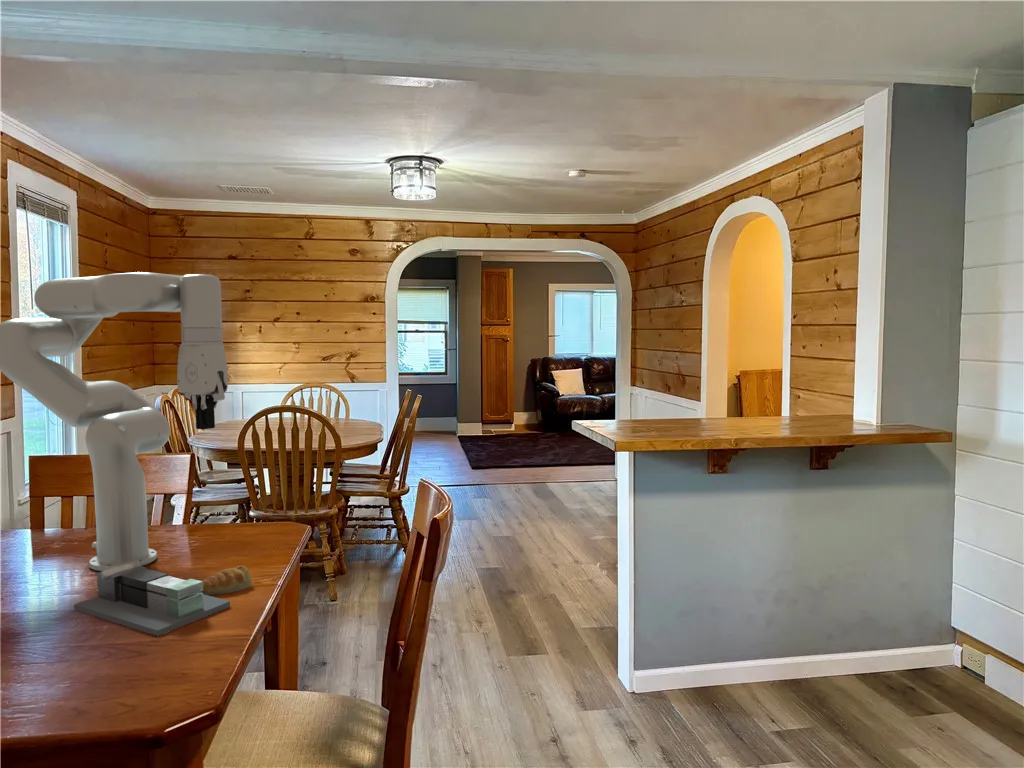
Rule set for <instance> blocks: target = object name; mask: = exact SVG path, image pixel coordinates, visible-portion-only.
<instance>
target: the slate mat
mask: <svg viewBox="0 0 1024 768" xmlns="http://www.w3.org/2000/svg"><path fill="white" fill-rule="evenodd" d="M203 602H204V609H203V610H200V611H198V612H195V613H193V614H190V615H188V616H185V617H183V618H180V619H177V618H174V617H170V616H167V614H165V613H162V612H158V611H155V610H152V609H148V608H142V607H139V606H136V605H132V604H129V603H125V602H122V601H121V600H120V601H118V602H113V601H109V600H106V599H103V598H99V597H98V596H95V597H92V598H89V599H85V600H83V601H80V602H77V603H74V606H73V608H74V611H76V612H77V611H78V612H81V613H84V614H86V613H87V614H86V615H89V614H90V616H92V615H94V616H93V617H95V616H97V617H96V618H98V617H100V618H99V619H102V618H103V619H102V620H105V619H106V620H105V621H108V620H109V621H108V622H111V621H113V622H112V623H114V622H115V624H117V623H119V624H118V625H120V624H122V625H121V626H123V625H125V626H124V627H126V626H127V628H130V629H133V630H136V631H139V632H142V631H143V633H145V632H146V634H148V633H150V634H149V635H151V634H153V635H152V636H155V635H157V636H156V637H160V636H162V635H161V634H163V635H165V634H167V633H166V632H168V631H170V632H172V631H174V630H173V629H175V630H177V629H179V628H178V627H180V628H182V627H184V626H183V625H185V624H187V625H189V624H191V623H190V622H192V623H194V622H196V621H195V620H197V621H199V620H202V619H204V618H206V617H209V616H211V615H214V614H216V613H219V612H221V611H223V610H226V609H228V608H230V607H231V602H230V600H226V599H223V598H219V597H215V596H213V595H211V596H209V595H204V594H203ZM218 611H219V612H218ZM213 613H214V614H213ZM208 615H209V616H208ZM201 618H202V619H201ZM198 619H199V620H198ZM193 621H194V622H193ZM188 623H189V624H188ZM181 626H182V627H181ZM185 626H186V625H185ZM176 628H177V629H176ZM171 630H172V631H171ZM164 633H165V634H164ZM168 633H169V632H168ZM159 635H160V636H159Z"/></svg>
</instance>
